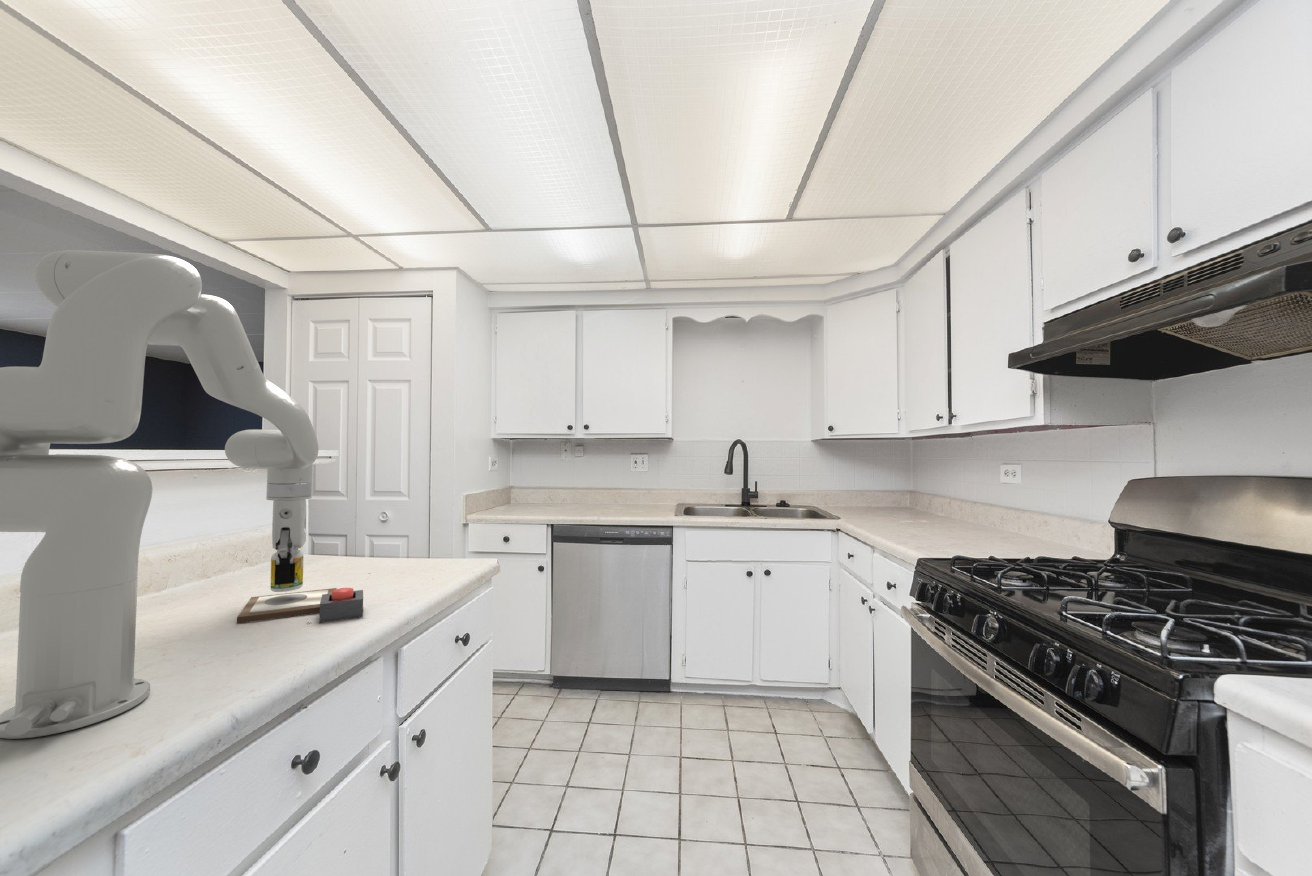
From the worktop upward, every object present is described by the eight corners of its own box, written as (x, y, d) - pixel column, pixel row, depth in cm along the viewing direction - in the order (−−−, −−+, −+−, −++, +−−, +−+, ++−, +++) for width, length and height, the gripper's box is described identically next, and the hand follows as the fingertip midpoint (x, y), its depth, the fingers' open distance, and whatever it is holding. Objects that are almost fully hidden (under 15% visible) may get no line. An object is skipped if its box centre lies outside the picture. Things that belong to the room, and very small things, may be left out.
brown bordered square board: (333, 611, 99) (333, 603, 99) (236, 623, 91) (237, 615, 91) (336, 593, 111) (336, 586, 111) (251, 602, 103) (251, 595, 103)
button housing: (362, 617, 96) (363, 598, 96) (319, 623, 92) (319, 604, 93) (362, 606, 102) (363, 589, 102) (321, 612, 99) (322, 594, 99)
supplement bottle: (303, 583, 105) (304, 538, 106) (302, 590, 101) (303, 542, 101) (271, 587, 102) (272, 541, 103) (268, 594, 98) (270, 545, 98)
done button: (352, 604, 97) (353, 591, 97) (330, 607, 95) (331, 593, 95) (353, 599, 100) (353, 586, 100) (331, 601, 98) (332, 589, 98)
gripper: (308, 494, 97) (305, 588, 96) (314, 488, 111) (312, 569, 111) (259, 496, 93) (255, 593, 92) (273, 489, 107) (270, 572, 107)
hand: (286, 579), depth 102 cm, fingers closed on supplement bottle, 5 cm apart
